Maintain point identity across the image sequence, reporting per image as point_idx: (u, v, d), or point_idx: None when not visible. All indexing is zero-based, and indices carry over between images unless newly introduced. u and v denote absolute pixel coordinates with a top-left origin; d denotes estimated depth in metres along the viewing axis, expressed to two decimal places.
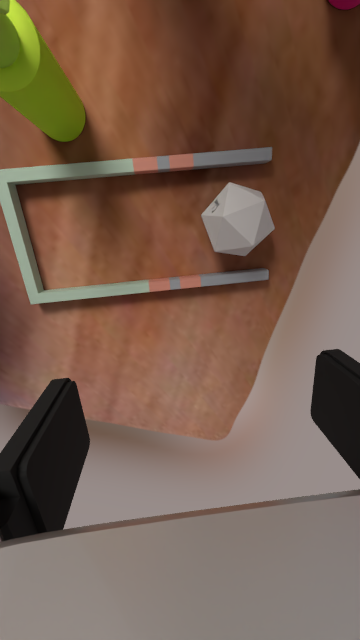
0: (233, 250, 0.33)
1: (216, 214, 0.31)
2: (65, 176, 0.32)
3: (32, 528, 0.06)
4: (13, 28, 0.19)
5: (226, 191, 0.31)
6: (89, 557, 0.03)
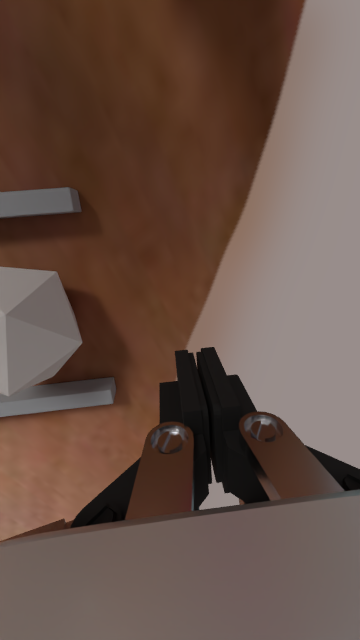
0: None
1: None
2: None
3: None
4: None
5: None
6: (89, 557, 0.03)
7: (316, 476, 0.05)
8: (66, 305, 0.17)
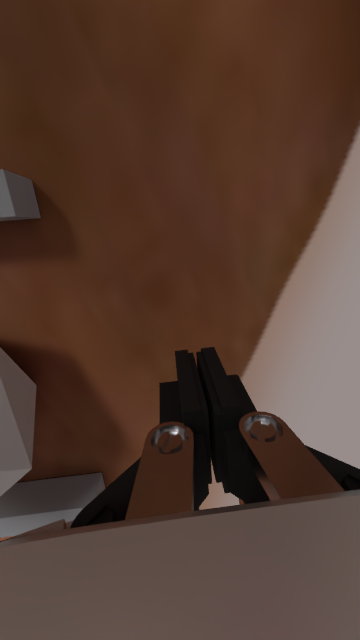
0: None
1: None
2: None
3: None
4: None
5: None
6: (89, 557, 0.03)
7: (316, 476, 0.05)
8: (1, 397, 0.09)
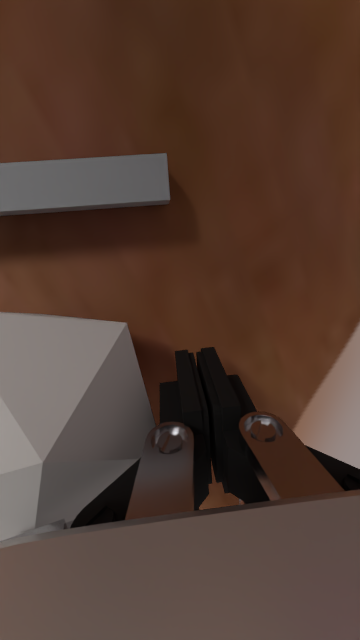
0: None
1: None
2: None
3: None
4: None
5: None
6: (89, 557, 0.03)
7: (316, 476, 0.05)
8: (142, 388, 0.09)
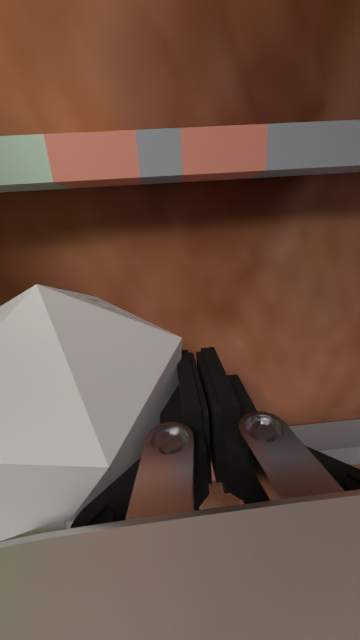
0: None
1: None
2: None
3: None
4: None
5: None
6: (89, 557, 0.03)
7: (316, 476, 0.05)
8: None
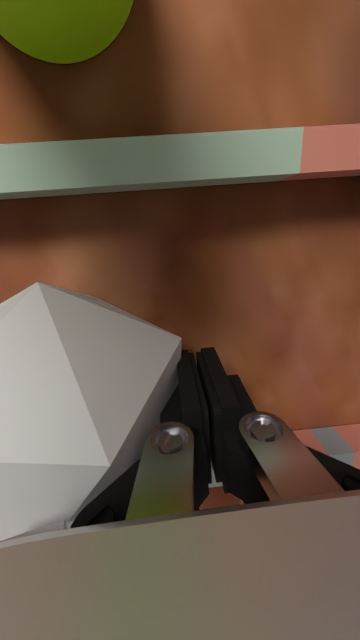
0: None
1: None
2: (62, 185, 0.09)
3: None
4: None
5: None
6: (89, 557, 0.03)
7: (316, 476, 0.05)
8: None
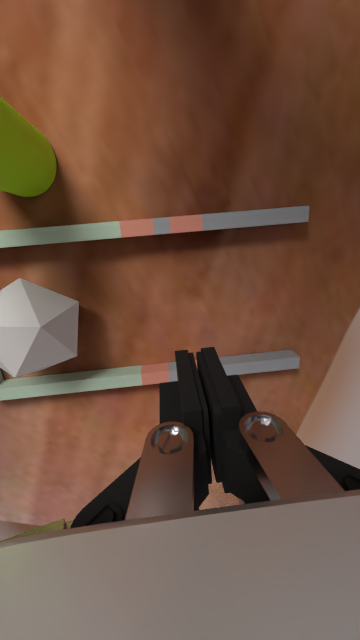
0: None
1: None
2: (27, 244, 0.24)
3: None
4: None
5: (6, 290, 0.21)
6: (89, 557, 0.03)
7: (316, 476, 0.05)
8: (76, 326, 0.24)
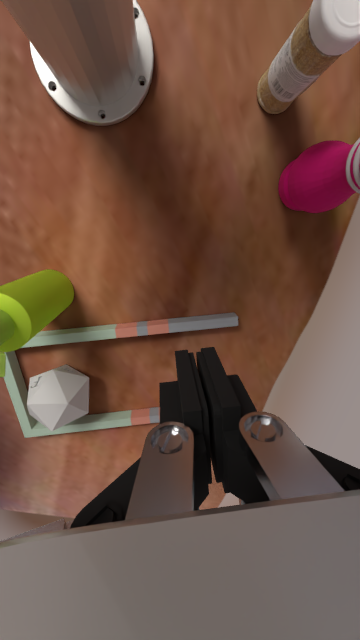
0: None
1: (29, 394, 0.35)
2: (56, 343, 0.37)
3: None
4: (9, 323, 0.23)
5: (45, 378, 0.35)
6: (89, 557, 0.03)
7: (316, 476, 0.05)
8: (88, 394, 0.38)
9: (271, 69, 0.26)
